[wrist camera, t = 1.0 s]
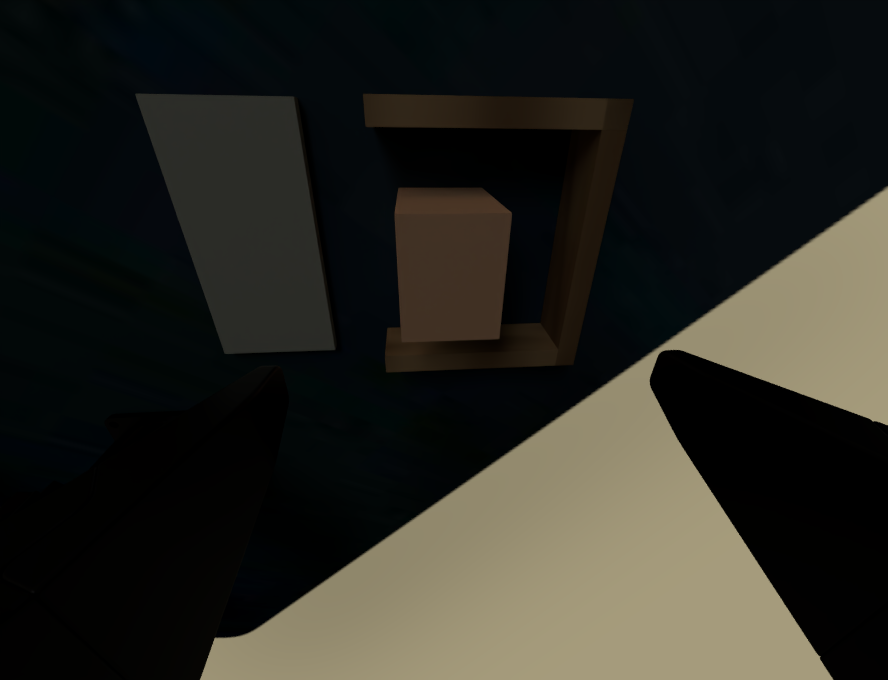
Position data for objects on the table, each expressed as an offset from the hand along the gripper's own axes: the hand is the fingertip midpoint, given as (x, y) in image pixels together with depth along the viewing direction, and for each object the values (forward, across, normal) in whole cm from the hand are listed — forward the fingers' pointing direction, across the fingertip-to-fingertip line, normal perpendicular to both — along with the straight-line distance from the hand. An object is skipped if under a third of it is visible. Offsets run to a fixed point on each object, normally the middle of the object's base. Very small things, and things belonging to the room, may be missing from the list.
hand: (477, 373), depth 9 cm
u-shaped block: (+12, -2, 0) cm, 12 cm away
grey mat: (+12, +9, 0) cm, 15 cm away
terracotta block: (+12, 0, 0) cm, 12 cm away
